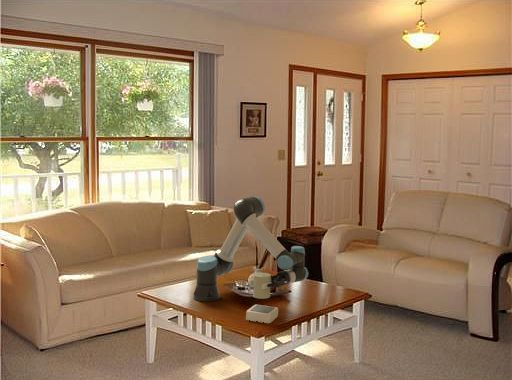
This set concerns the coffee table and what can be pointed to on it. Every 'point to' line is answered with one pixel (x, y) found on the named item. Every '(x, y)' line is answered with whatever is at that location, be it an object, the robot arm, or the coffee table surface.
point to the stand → (262, 313)
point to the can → (257, 285)
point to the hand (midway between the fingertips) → (255, 284)
